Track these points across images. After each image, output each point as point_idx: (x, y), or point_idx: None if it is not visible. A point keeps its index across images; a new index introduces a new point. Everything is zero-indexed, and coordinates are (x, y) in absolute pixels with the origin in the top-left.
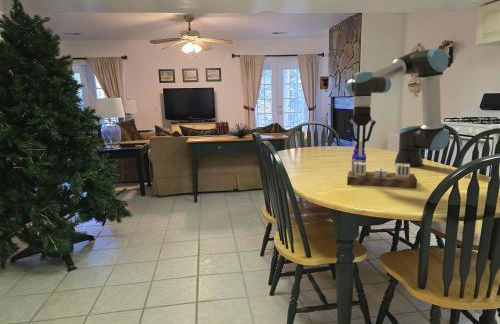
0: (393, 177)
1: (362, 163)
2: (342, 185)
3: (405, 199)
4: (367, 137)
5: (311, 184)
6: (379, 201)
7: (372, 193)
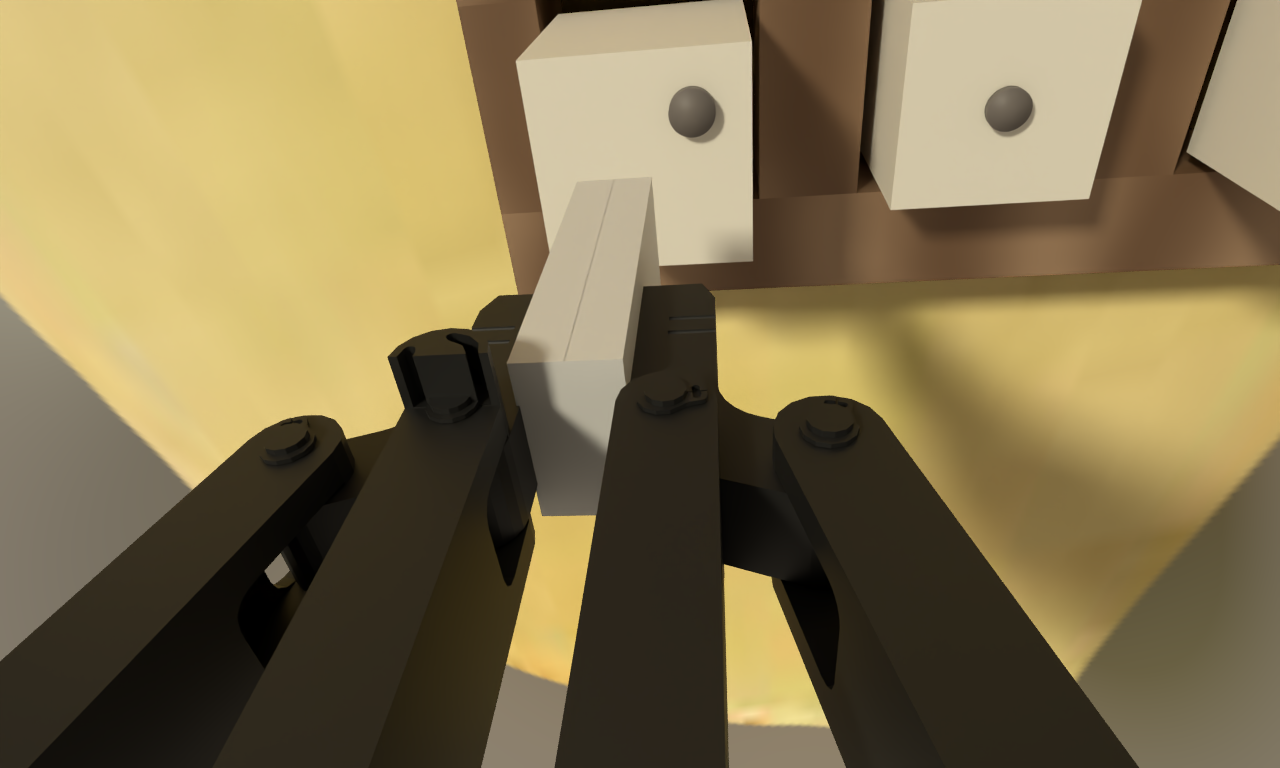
0: (1140, 184)
1: (684, 184)
2: (499, 286)
3: (1057, 539)
4: (818, 649)
5: (200, 331)
6: None
7: None
